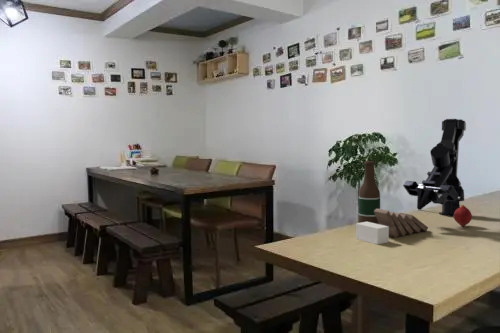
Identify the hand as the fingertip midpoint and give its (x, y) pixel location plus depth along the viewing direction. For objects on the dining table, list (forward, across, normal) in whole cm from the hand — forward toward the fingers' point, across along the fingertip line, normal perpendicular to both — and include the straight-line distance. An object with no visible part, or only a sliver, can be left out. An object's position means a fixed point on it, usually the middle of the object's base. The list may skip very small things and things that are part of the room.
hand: (418, 208), depth 145 cm
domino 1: (+15, 0, +5) cm, 16 cm away
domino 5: (+4, 0, -6) cm, 7 cm away
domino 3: (+10, 0, 0) cm, 10 cm away
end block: (+22, 0, +11) cm, 24 cm away
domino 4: (+7, 0, -3) cm, 7 cm away
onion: (-7, -5, -18) cm, 20 cm away
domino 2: (+12, 0, +2) cm, 12 cm away
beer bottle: (+12, +14, +1) cm, 18 cm away
